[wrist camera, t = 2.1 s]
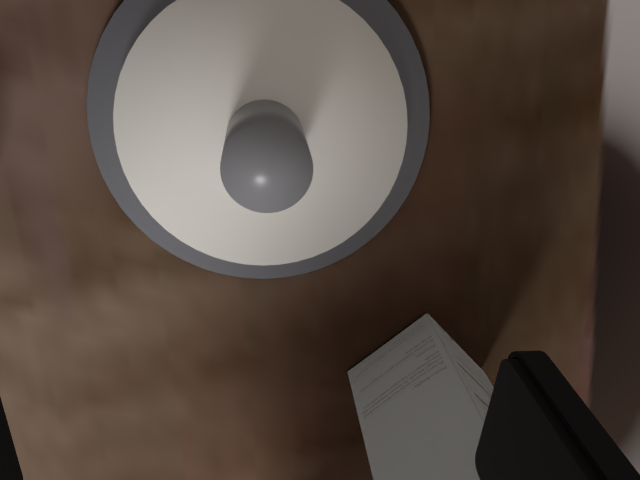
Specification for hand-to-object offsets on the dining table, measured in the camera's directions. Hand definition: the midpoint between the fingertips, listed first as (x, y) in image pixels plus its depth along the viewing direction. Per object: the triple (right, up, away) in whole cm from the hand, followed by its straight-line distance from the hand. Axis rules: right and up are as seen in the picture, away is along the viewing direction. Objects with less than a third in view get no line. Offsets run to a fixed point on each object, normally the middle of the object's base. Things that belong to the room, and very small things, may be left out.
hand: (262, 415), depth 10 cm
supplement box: (+8, -6, +27) cm, 29 cm away
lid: (-2, +9, +18) cm, 20 cm away
